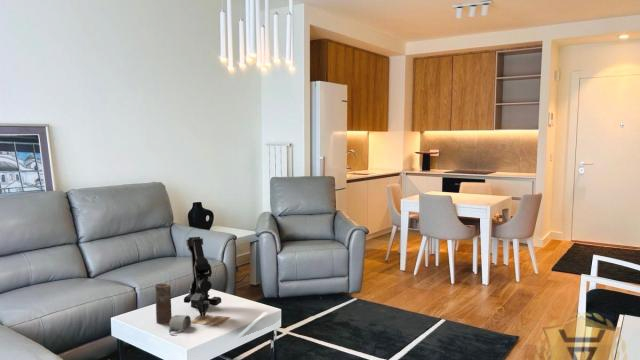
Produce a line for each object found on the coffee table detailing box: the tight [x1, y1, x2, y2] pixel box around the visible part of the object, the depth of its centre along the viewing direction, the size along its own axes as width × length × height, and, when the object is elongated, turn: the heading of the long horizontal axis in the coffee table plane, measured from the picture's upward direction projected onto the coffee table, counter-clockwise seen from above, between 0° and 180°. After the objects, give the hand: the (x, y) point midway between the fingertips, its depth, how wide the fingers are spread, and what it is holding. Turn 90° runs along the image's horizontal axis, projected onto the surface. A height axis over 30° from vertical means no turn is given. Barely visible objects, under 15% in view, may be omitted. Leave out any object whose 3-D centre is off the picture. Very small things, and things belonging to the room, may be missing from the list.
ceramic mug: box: [168, 314, 192, 337], centre depth 228 cm, size 11×8×8 cm
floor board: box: [202, 315, 232, 327], centre depth 239 cm, size 9×13×1 cm
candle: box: [154, 283, 173, 325], centre depth 238 cm, size 8×7×20 cm
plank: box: [191, 313, 214, 325], centre depth 241 cm, size 7×12×1 cm, turn 165°
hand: (202, 316), depth 244 cm, fingers closed
